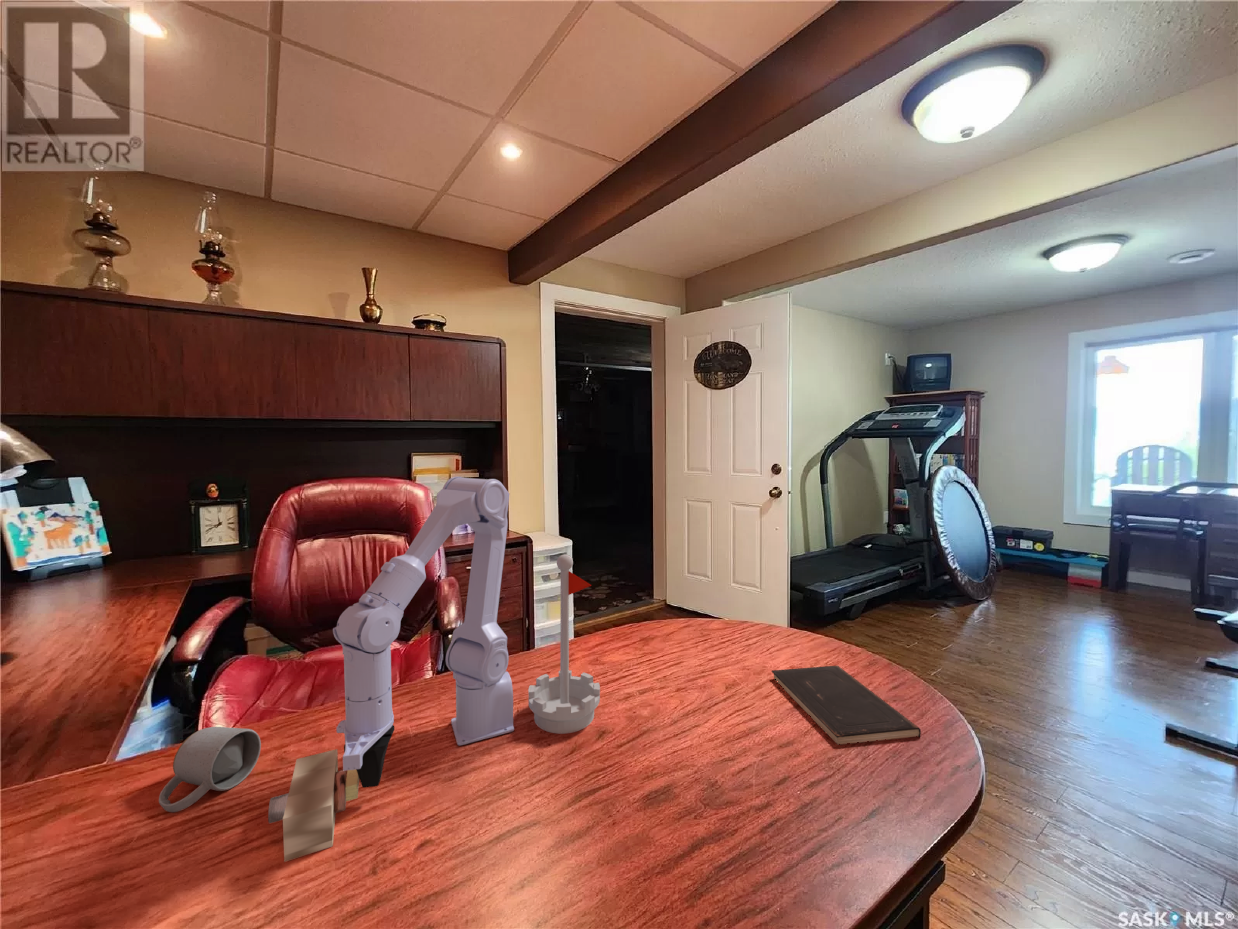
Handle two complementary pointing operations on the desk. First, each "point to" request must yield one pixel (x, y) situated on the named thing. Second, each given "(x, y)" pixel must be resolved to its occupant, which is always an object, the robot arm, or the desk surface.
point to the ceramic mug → (212, 763)
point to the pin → (279, 802)
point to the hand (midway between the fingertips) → (371, 785)
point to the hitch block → (310, 806)
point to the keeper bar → (352, 785)
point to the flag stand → (564, 675)
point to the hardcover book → (844, 705)
